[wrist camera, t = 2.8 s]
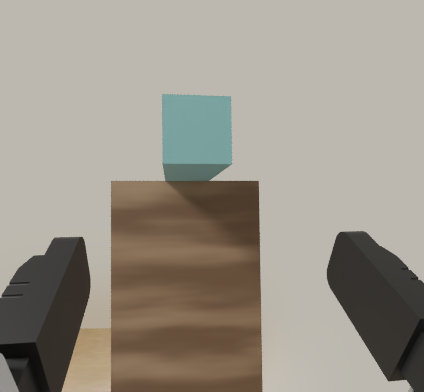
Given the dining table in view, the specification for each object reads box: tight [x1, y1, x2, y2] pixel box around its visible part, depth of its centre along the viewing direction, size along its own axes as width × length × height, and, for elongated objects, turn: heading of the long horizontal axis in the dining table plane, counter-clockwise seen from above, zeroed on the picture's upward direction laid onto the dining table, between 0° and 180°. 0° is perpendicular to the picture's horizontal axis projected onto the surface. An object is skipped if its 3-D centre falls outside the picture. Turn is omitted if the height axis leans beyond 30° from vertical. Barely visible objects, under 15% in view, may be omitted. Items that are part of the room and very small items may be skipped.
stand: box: [111, 181, 262, 392], centre depth 33 cm, size 18×14×32 cm
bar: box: [162, 94, 232, 181], centre depth 29 cm, size 26×4×4 cm, turn 8°
